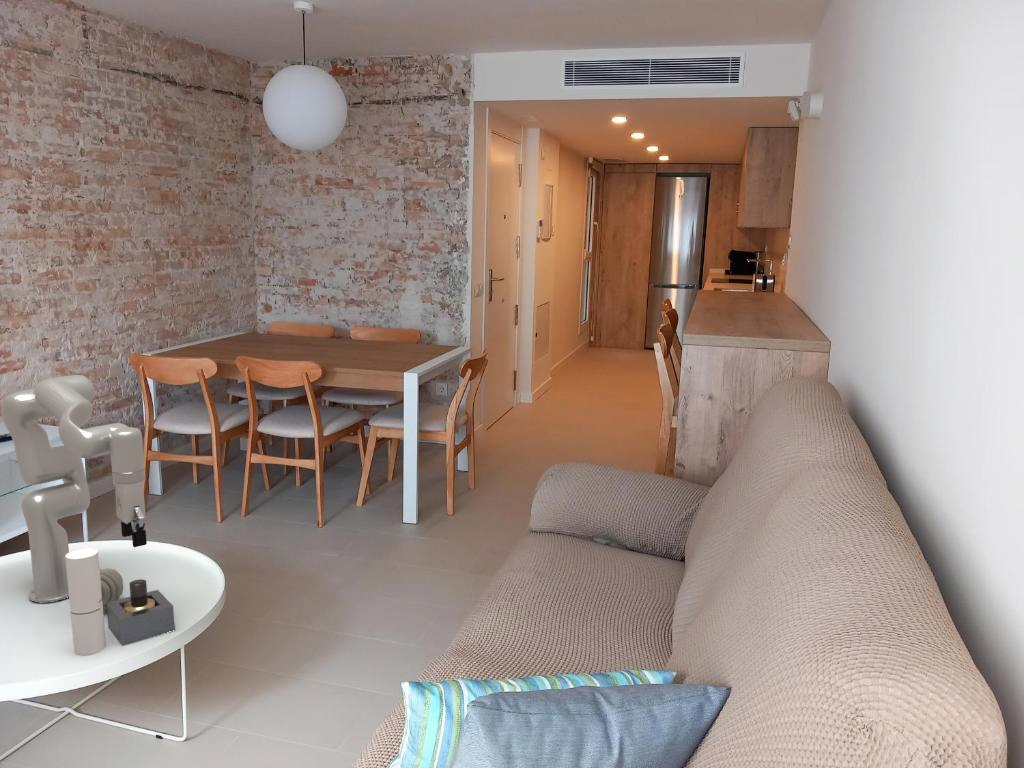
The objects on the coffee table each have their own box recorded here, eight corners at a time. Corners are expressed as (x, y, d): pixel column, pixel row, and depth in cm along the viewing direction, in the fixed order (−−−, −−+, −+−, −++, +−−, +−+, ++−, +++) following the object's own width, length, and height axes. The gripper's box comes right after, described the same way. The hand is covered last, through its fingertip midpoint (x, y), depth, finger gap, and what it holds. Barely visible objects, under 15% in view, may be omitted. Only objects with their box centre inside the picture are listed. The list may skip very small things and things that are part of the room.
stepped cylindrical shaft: (122, 624, 217) (118, 581, 215) (151, 616, 221) (148, 574, 219) (130, 634, 211) (126, 590, 209) (160, 626, 216) (157, 583, 214)
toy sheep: (70, 622, 220) (67, 583, 219) (97, 595, 237) (94, 559, 235) (111, 620, 221) (108, 581, 219) (135, 594, 238) (132, 558, 236)
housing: (108, 627, 217) (106, 602, 216) (159, 613, 225) (157, 589, 224) (122, 645, 207) (119, 619, 206) (174, 630, 215) (173, 605, 214)
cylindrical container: (111, 641, 210) (103, 548, 205) (98, 655, 202) (89, 558, 198) (82, 642, 209) (74, 548, 205) (68, 655, 202) (59, 559, 198)
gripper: (104, 472, 214) (109, 535, 216) (122, 486, 200) (128, 553, 203) (134, 467, 218) (139, 528, 221) (154, 480, 205) (159, 546, 208)
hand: (134, 540), depth 212 cm, fingers open, 9 cm apart
